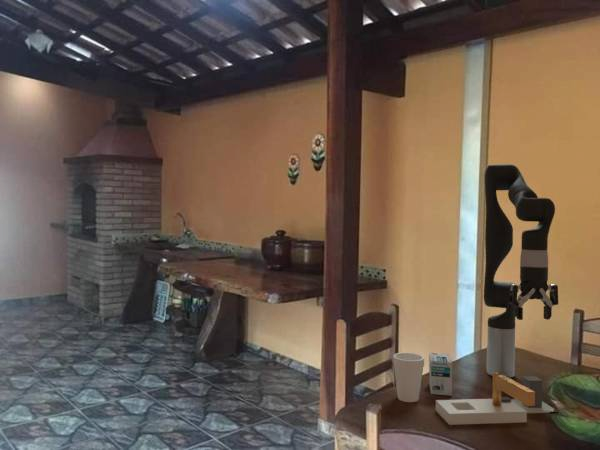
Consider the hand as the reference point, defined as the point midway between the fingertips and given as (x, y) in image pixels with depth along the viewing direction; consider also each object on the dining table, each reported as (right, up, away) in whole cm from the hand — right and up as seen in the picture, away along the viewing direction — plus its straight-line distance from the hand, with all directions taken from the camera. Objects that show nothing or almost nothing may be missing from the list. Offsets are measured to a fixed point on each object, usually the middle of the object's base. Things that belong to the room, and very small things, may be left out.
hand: (533, 319), depth 148 cm
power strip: (-19, -26, -7) cm, 33 cm away
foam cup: (-36, -26, +6) cm, 45 cm away
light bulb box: (-24, -26, +14) cm, 38 cm away
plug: (0, -26, 0) cm, 26 cm away
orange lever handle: (-12, -23, -14) cm, 29 cm away
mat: (0, -26, 0) cm, 26 cm away
